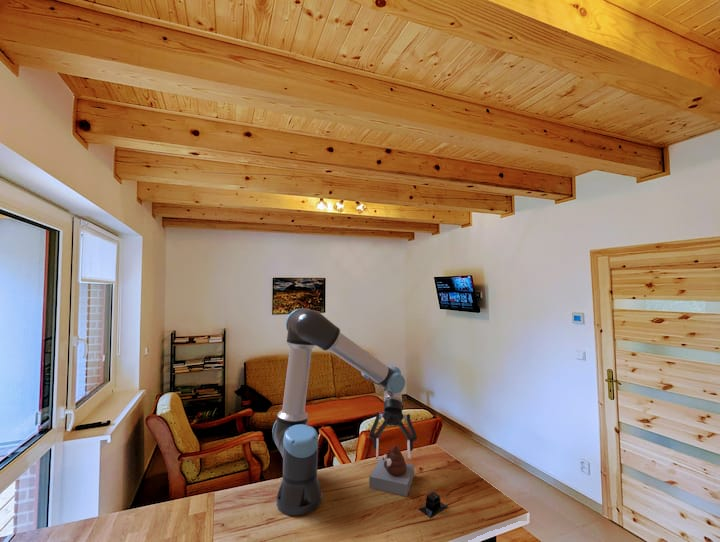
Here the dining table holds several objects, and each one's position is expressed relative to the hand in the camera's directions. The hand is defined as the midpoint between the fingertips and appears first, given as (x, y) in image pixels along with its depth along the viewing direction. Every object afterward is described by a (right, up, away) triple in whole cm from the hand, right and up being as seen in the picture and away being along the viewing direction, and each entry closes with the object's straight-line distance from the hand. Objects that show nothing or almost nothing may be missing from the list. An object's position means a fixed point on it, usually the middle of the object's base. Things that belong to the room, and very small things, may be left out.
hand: (393, 458), depth 124 cm
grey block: (0, -10, +2) cm, 10 cm away
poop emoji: (+1, -6, +3) cm, 7 cm away
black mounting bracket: (+12, -10, -12) cm, 20 cm away
